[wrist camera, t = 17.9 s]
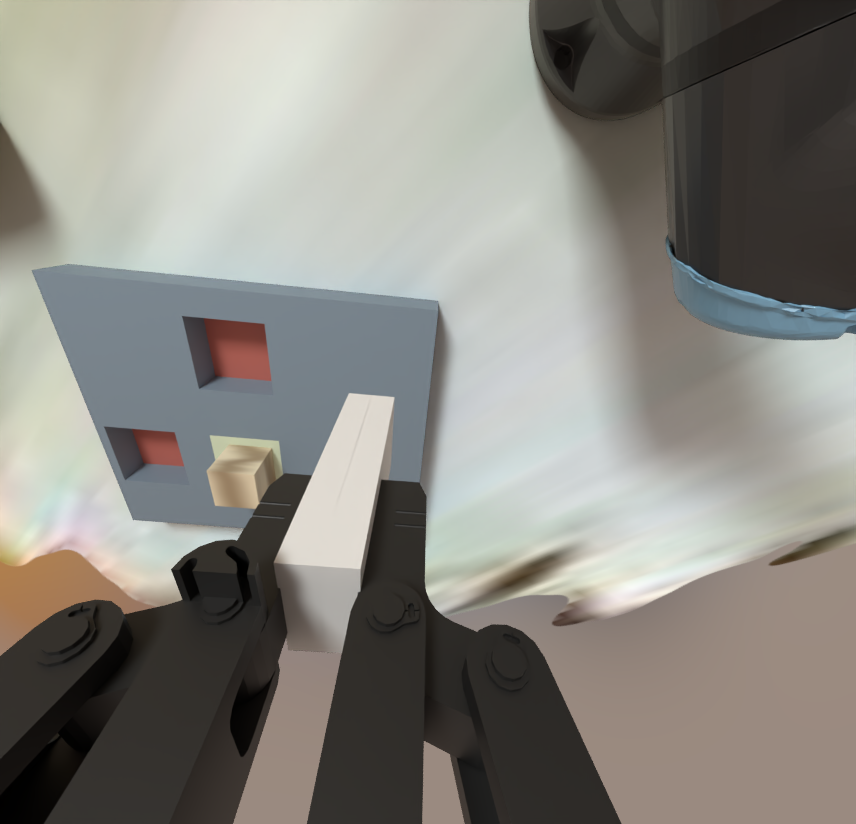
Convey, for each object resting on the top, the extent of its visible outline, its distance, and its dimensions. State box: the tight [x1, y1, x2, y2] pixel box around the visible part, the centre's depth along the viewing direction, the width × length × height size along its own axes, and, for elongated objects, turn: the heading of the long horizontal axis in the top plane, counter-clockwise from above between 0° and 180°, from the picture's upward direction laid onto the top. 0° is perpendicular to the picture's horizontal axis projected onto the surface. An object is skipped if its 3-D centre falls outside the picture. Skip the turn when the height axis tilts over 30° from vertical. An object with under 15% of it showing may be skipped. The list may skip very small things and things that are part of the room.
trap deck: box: [32, 264, 438, 528], centre depth 45 cm, size 38×32×4 cm
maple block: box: [207, 444, 276, 509], centre depth 43 cm, size 5×5×5 cm
